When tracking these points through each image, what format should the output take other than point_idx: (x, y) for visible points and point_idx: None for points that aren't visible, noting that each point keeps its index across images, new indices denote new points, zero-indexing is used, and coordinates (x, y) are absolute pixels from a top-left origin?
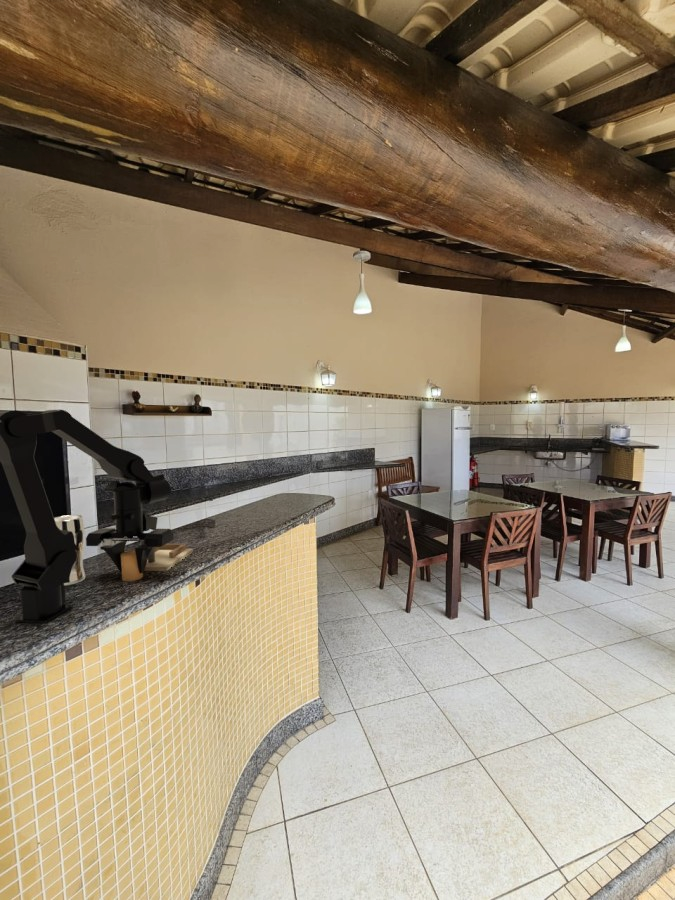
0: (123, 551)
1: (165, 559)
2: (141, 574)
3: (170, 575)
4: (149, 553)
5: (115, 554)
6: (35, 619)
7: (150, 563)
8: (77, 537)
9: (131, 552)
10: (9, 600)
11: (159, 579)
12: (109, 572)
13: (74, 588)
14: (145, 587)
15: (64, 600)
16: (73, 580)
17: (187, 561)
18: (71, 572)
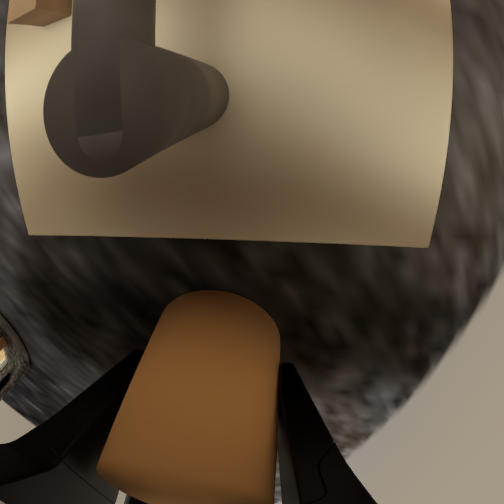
0: (73, 459)
1: (322, 23)
2: (279, 358)
3: (453, 303)
4: (354, 480)
5: (109, 499)
6: None
7: (216, 152)
8: None
9: (169, 492)
10: (18, 412)
11: (403, 354)
12: (21, 257)
13: (69, 396)
14: (359, 416)
15: None
16: (23, 375)
17: (487, 23)
18: (3, 394)
